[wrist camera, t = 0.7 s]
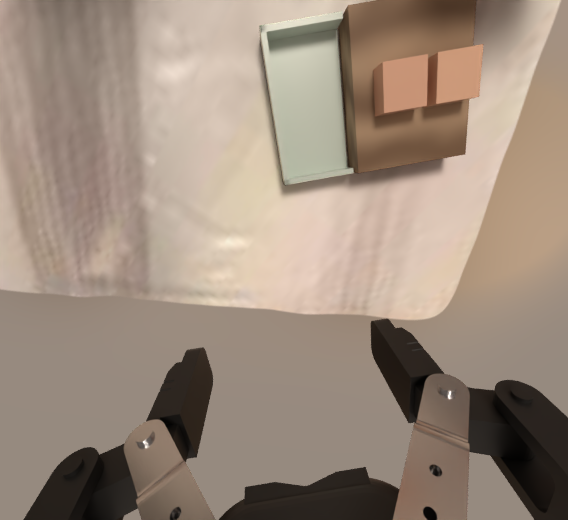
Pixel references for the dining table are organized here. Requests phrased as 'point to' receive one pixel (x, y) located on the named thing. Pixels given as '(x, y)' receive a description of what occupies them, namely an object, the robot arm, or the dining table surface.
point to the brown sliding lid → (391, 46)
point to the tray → (306, 96)
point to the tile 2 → (454, 75)
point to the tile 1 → (400, 85)
